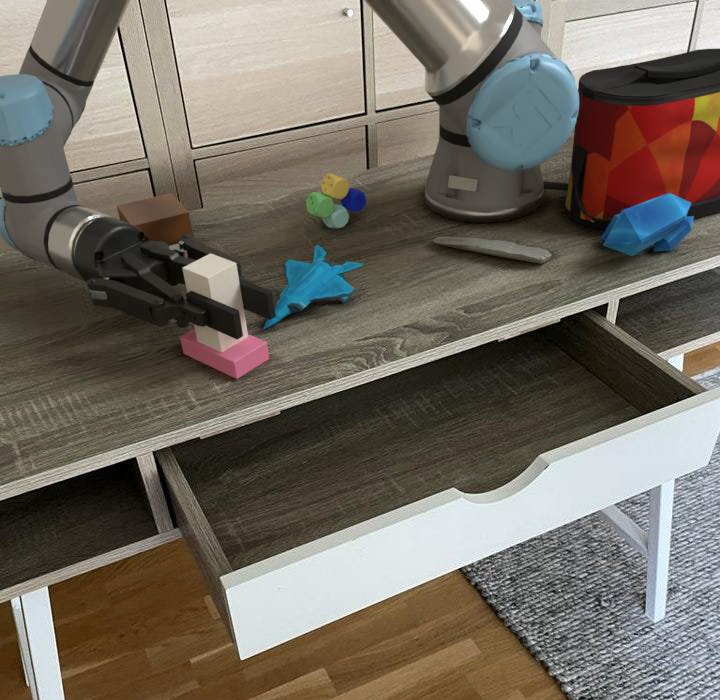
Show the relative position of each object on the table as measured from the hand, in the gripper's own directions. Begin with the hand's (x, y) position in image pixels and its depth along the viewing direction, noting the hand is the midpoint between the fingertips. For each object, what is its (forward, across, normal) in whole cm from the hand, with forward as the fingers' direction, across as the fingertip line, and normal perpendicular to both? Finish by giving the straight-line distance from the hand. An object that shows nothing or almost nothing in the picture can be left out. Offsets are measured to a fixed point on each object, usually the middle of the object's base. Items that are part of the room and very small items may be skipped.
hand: (254, 315), depth 80 cm
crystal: (+21, -49, -2) cm, 53 cm away
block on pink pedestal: (-5, 0, -6) cm, 8 cm away
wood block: (-31, -12, -6) cm, 34 cm away
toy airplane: (-6, -13, -7) cm, 16 cm away
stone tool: (+3, -37, -6) cm, 37 cm away
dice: (-17, -30, -7) cm, 35 cm away
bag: (+13, -58, -7) cm, 60 cm away
